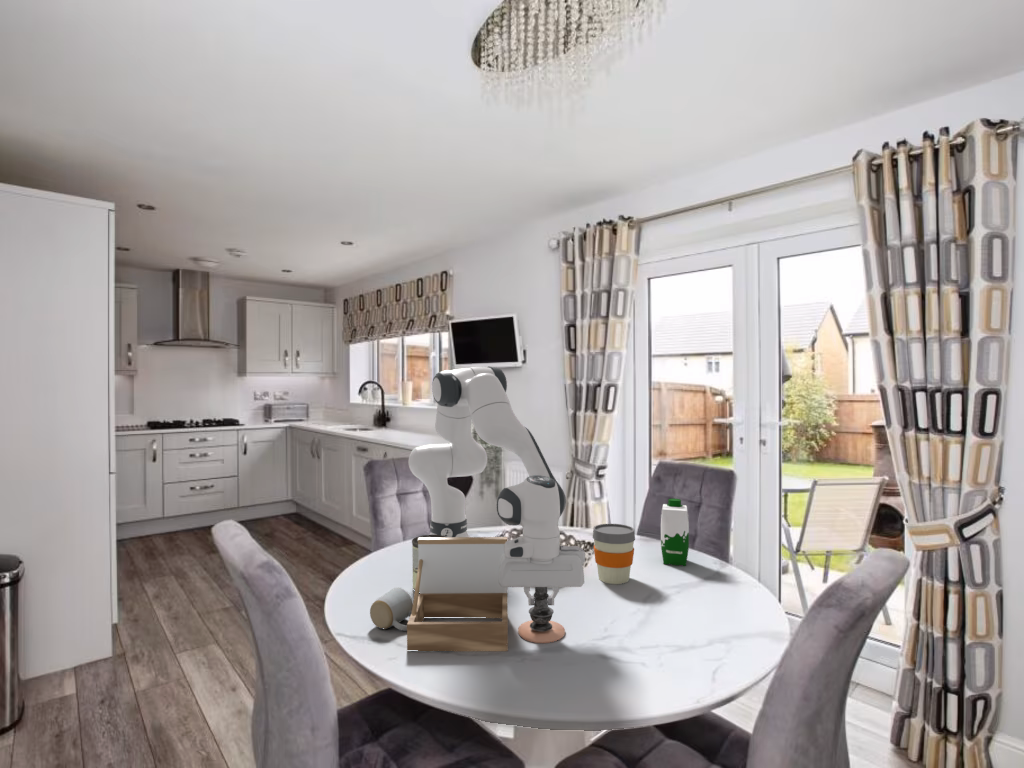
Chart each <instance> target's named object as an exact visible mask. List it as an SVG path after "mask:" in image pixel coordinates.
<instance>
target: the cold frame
mask: <svg viewBox="0 0 1024 768" xmlns="http://www.w3.org/2000/svg"><path fill="white" fill-rule="evenodd" d="M508 612H509V611H508V592H507V593H425V594H419V595H418V603H417V610H416V615H414V616H412V615H411V616H410V617H408V618H409V619H408V620H407V623H406V625H407V631H406V651H407V650H418V651H454V652H509V650H508V649H509V647H508V644H509V636H508V632H509V631H508V629H509V628H508V627H509V625H508V624H509V623H508V622H509V621H508V618H509V617H508V615H509V613H508ZM424 617H486V618H485V619H501V620H500V621H499V620H498V621H424V620H423V618H424ZM422 621H423V622H422Z"/></svg>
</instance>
